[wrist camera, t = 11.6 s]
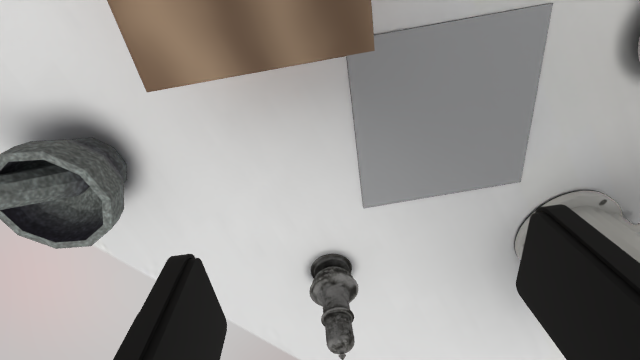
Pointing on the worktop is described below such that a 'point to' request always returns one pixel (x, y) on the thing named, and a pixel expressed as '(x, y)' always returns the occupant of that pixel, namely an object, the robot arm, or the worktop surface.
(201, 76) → the walnut lid
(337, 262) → the dark stone chess piece
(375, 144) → the rubber mat
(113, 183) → the mortar and pestle
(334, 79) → the worktop surface
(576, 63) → the worktop surface
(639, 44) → the dark grey egg shape
